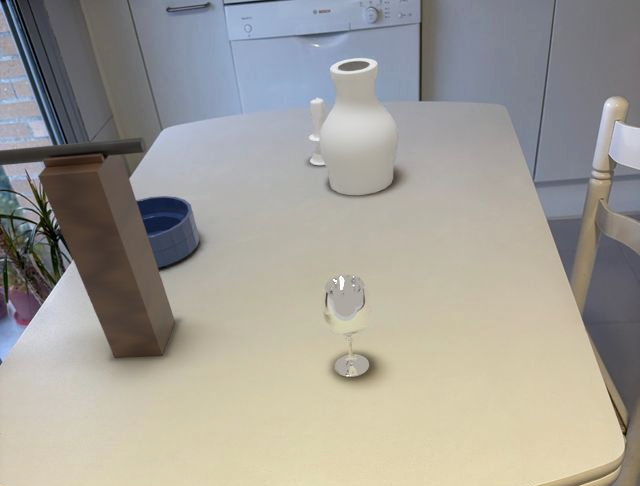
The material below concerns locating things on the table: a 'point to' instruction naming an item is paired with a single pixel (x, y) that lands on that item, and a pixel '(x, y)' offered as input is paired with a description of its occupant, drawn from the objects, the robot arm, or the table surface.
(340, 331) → the wineglass
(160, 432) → the table surface
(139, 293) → the stand
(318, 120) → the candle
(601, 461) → the table surface
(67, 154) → the chopstick
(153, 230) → the bowl
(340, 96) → the vase
